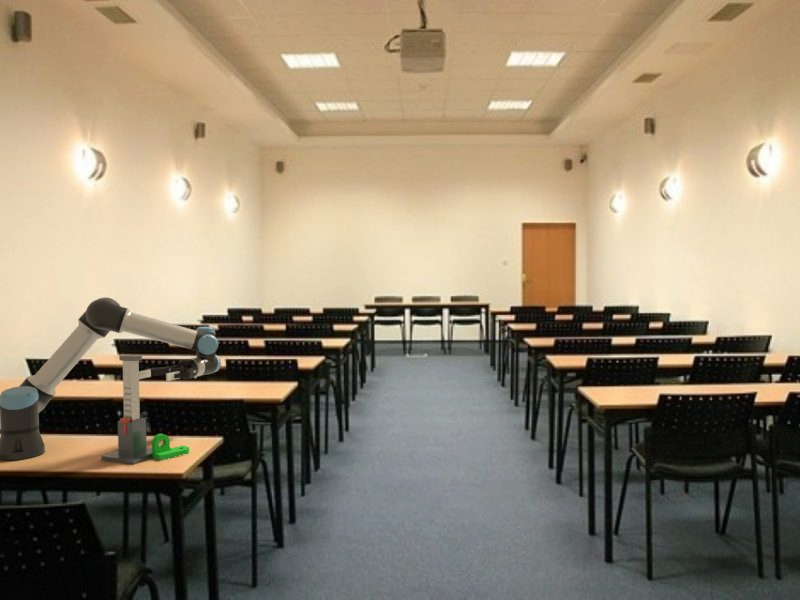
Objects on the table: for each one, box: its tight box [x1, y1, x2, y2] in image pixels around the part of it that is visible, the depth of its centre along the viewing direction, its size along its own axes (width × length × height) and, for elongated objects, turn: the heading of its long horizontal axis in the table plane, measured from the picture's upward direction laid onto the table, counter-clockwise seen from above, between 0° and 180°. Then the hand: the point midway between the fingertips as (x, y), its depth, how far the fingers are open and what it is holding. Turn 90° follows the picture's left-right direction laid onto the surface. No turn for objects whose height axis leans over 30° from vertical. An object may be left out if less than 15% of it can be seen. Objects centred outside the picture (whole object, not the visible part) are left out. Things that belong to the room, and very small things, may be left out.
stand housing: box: [100, 417, 152, 465], centre depth 220 cm, size 14×14×14 cm
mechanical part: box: [151, 433, 190, 461], centre depth 222 cm, size 12×6×8 cm, turn 139°
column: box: [118, 354, 143, 422], centre depth 219 cm, size 7×4×28 cm, turn 70°
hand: (151, 376), depth 229 cm, fingers open, 13 cm apart
